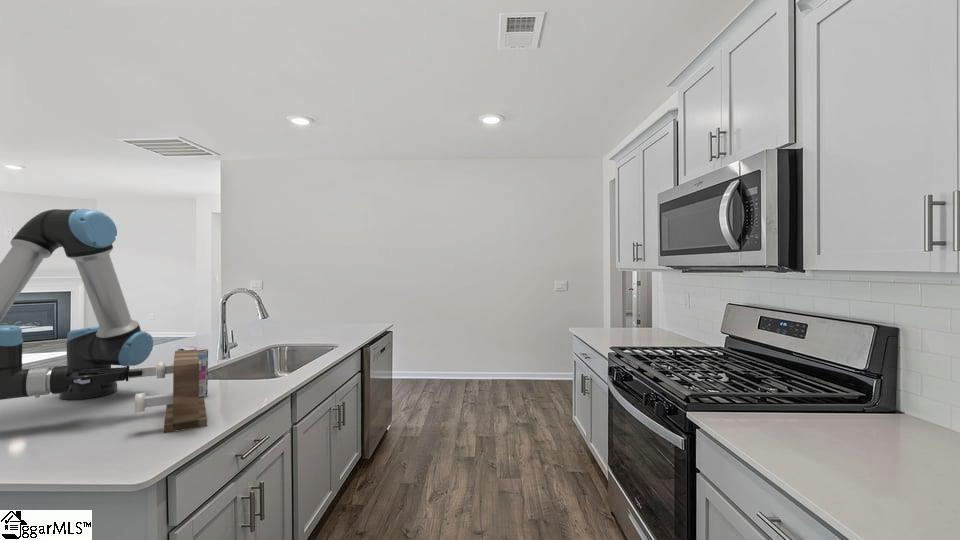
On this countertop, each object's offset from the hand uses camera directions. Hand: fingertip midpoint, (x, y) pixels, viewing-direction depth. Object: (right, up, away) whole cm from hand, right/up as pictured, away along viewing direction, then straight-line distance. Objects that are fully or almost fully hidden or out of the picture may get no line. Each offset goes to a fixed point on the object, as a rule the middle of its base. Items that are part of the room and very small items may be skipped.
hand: (155, 370), depth 138 cm
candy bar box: (-1, -13, +18) cm, 23 cm away
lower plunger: (+11, -8, -13) cm, 18 cm away
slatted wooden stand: (+11, -13, -3) cm, 17 cm away
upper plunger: (+5, -3, +4) cm, 6 cm away
